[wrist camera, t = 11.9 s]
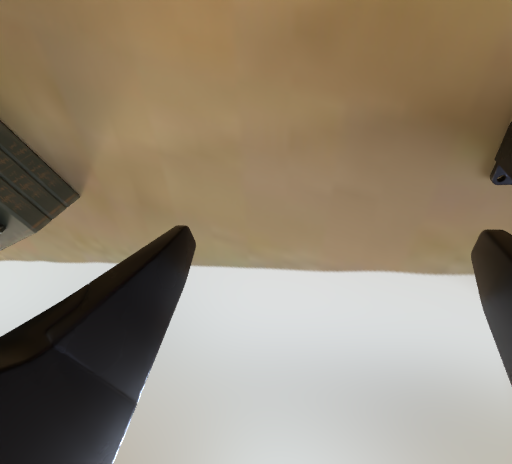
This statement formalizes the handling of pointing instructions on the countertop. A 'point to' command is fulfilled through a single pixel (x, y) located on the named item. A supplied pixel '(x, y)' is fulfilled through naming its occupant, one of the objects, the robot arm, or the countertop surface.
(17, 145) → the dark grey display stand
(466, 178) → the countertop surface
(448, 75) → the countertop surface
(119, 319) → the robot arm
